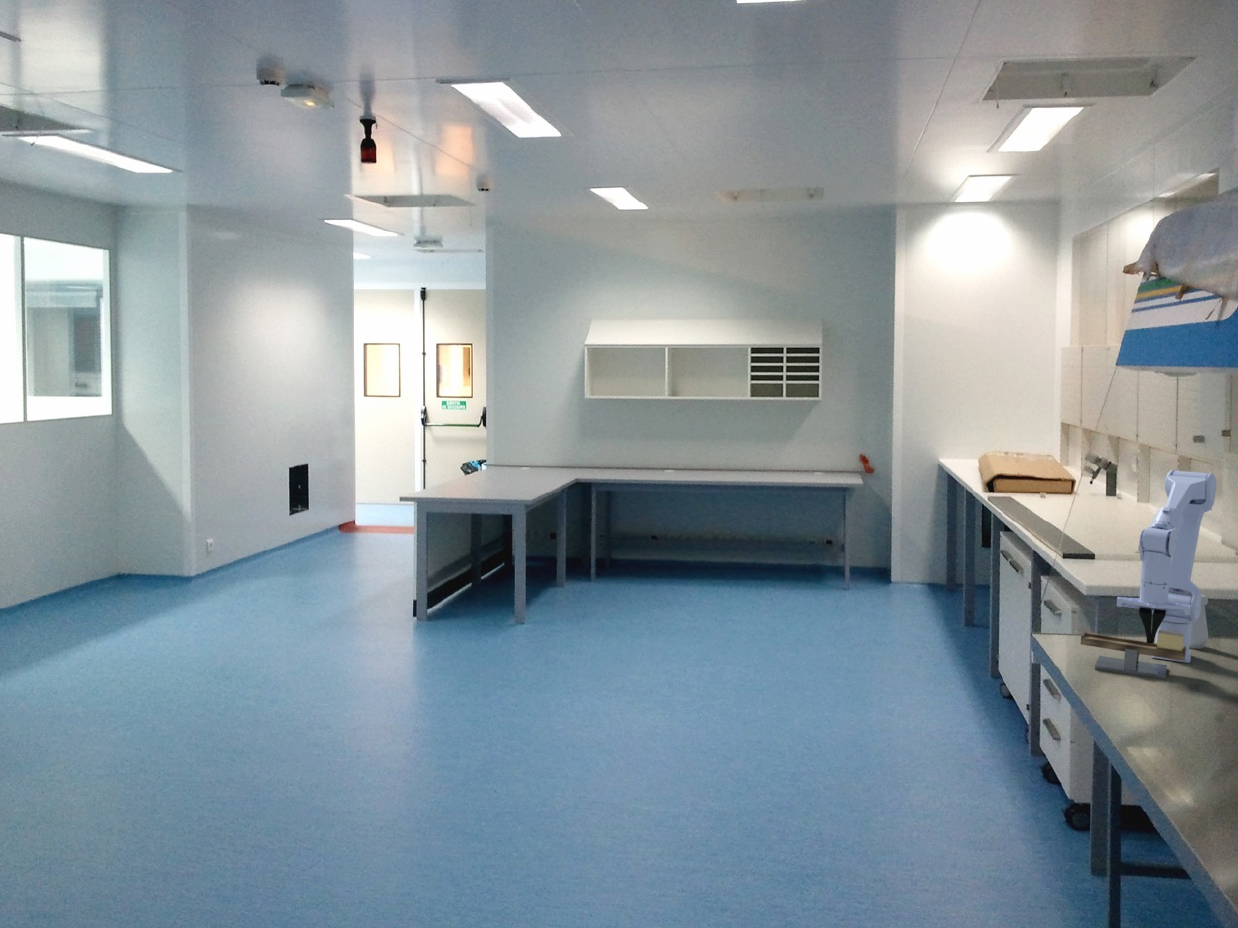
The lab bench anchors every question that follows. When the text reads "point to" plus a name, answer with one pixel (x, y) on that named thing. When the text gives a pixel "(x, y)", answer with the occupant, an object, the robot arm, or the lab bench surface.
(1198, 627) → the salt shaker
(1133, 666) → the pivot stand
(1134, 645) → the beam
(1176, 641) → the block
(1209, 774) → the lab bench surface
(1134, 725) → the lab bench surface
